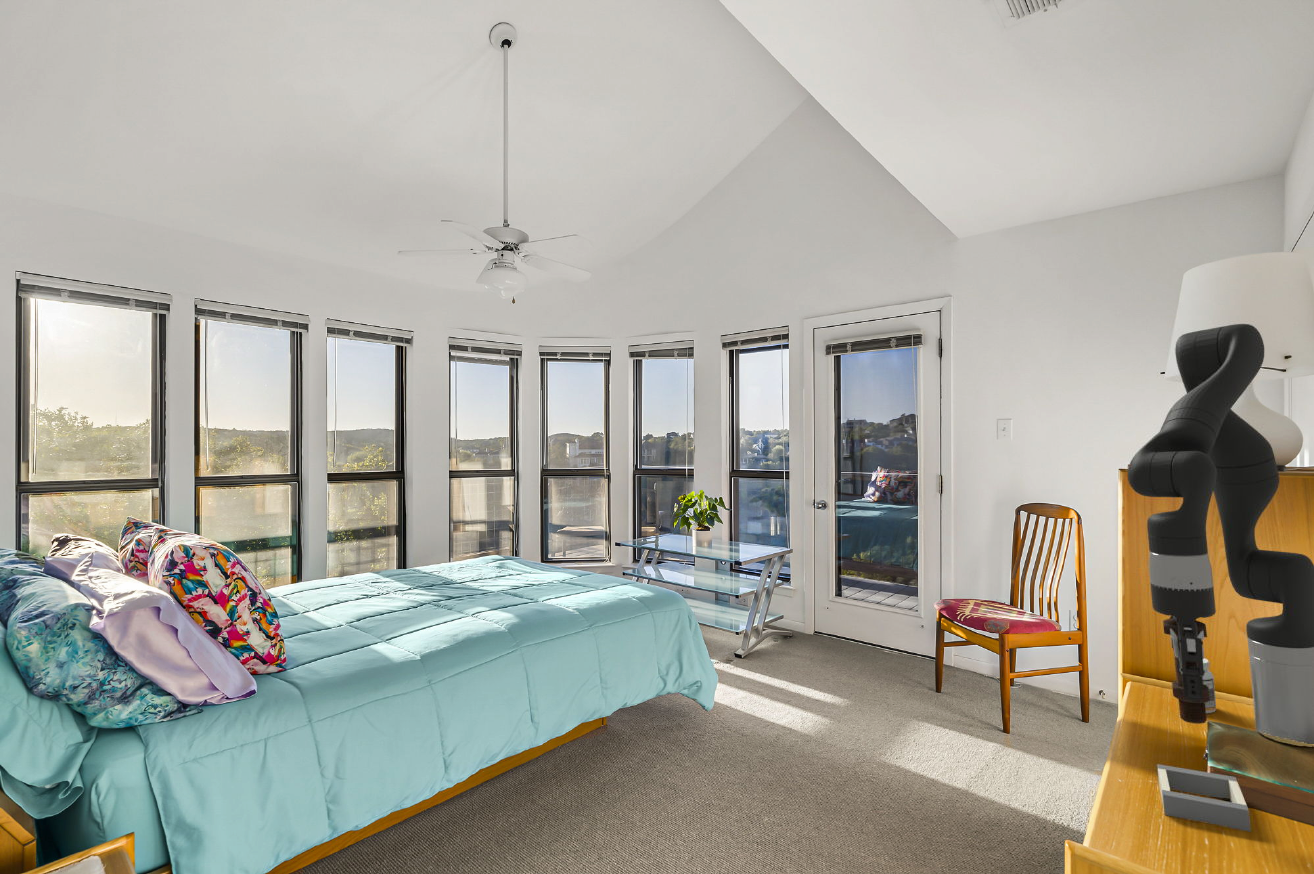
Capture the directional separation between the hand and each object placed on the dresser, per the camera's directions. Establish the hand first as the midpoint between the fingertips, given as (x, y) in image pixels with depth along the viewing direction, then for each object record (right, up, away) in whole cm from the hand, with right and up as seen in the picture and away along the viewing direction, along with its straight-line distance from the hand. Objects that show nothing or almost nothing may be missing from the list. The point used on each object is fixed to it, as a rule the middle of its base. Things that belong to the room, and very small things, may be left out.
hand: (1191, 692), depth 98 cm
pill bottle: (+27, -16, +31) cm, 44 cm away
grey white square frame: (+1, -17, 0) cm, 17 cm away
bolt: (0, -5, 0) cm, 5 cm away
